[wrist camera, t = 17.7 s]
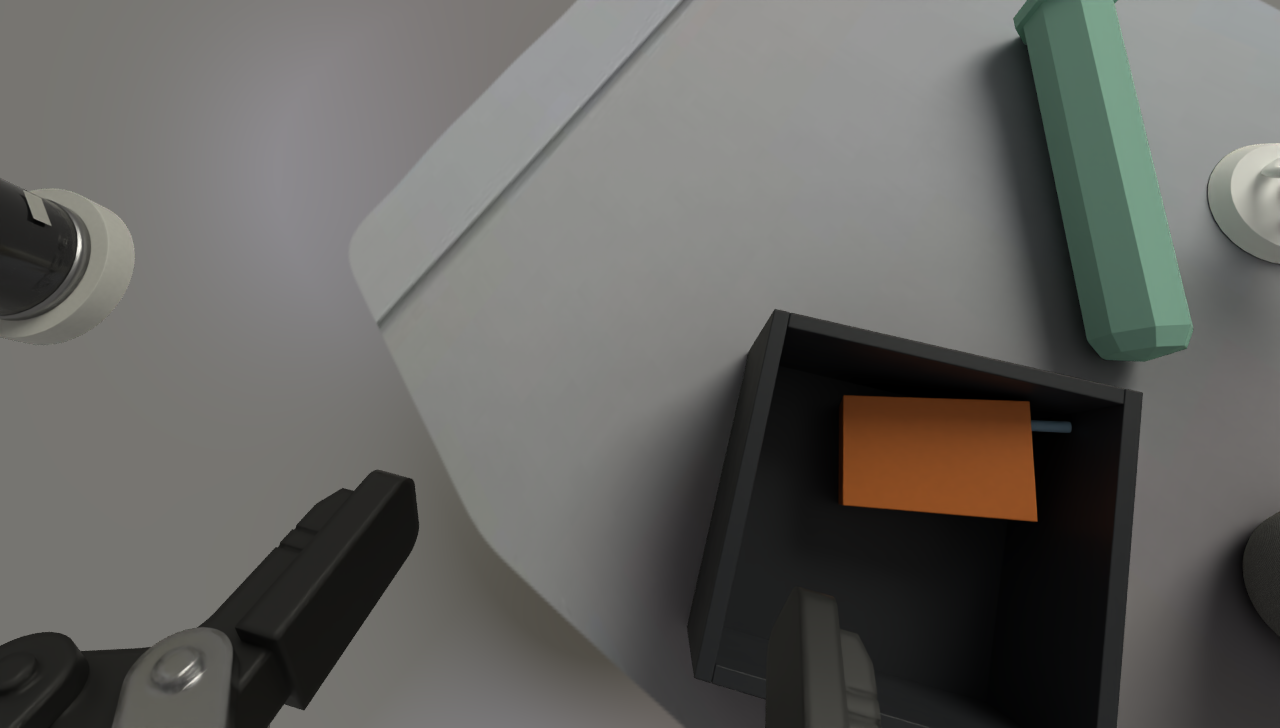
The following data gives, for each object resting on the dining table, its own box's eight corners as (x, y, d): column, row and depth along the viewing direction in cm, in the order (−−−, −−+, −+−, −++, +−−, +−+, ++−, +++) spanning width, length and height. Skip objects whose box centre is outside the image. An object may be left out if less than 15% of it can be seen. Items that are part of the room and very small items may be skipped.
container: (1238, 345, 29) (1135, -53, 34) (1098, 359, 32) (1021, -14, 36) (1187, 363, 34) (1104, 17, 39) (1070, 374, 37) (1006, 46, 42)
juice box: (842, 505, 30) (1096, 527, 26) (842, 394, 31) (1085, 402, 28) (838, 504, 34) (1061, 523, 30) (838, 405, 35) (1052, 413, 31)
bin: (686, 628, 33) (693, 678, 25) (749, 349, 37) (774, 308, 28) (989, 715, 31) (1111, 802, 23) (1025, 415, 35) (1143, 392, 26)
